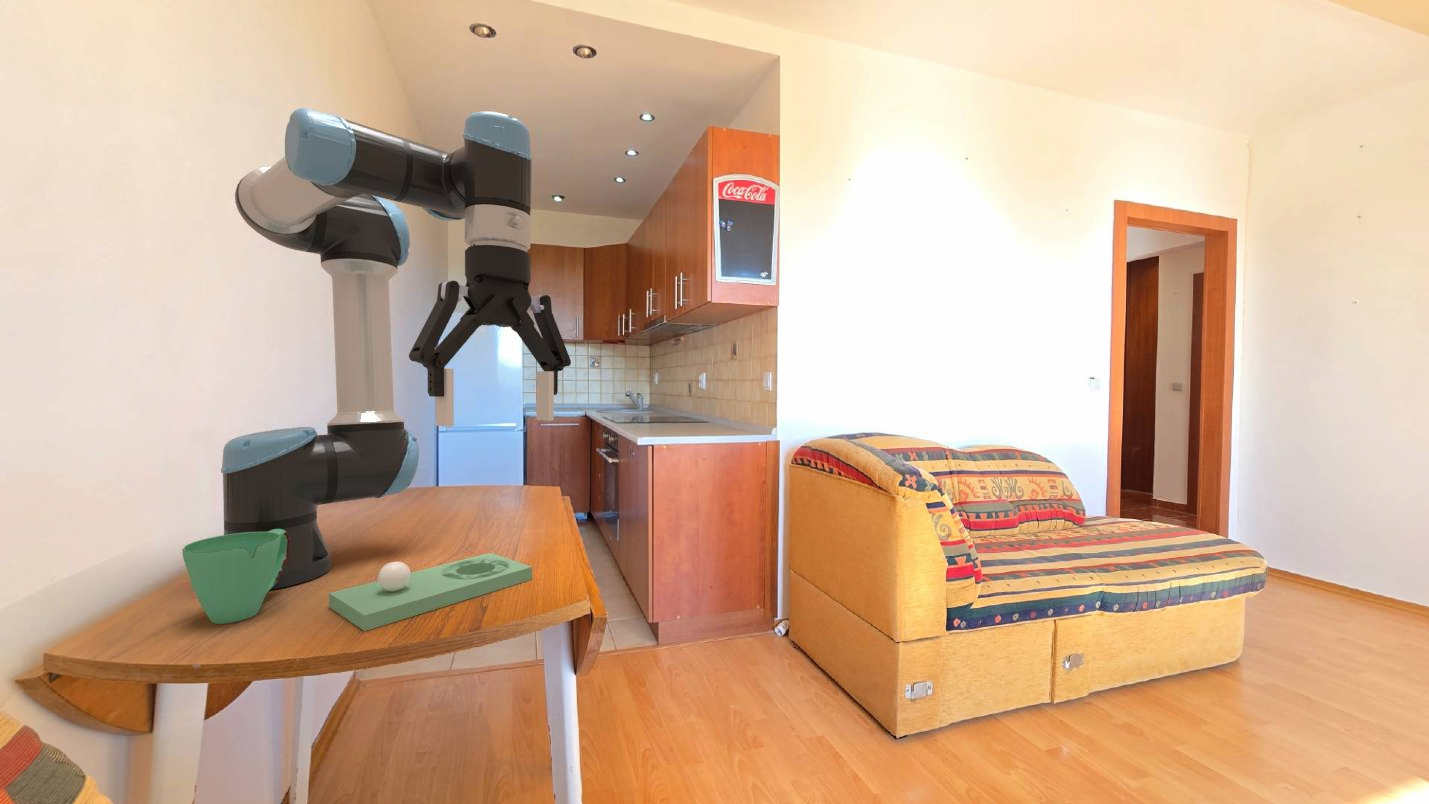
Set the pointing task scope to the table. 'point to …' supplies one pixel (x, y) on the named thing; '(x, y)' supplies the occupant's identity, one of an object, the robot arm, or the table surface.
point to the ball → (394, 576)
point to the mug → (236, 572)
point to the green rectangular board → (428, 590)
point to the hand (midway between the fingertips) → (498, 423)
